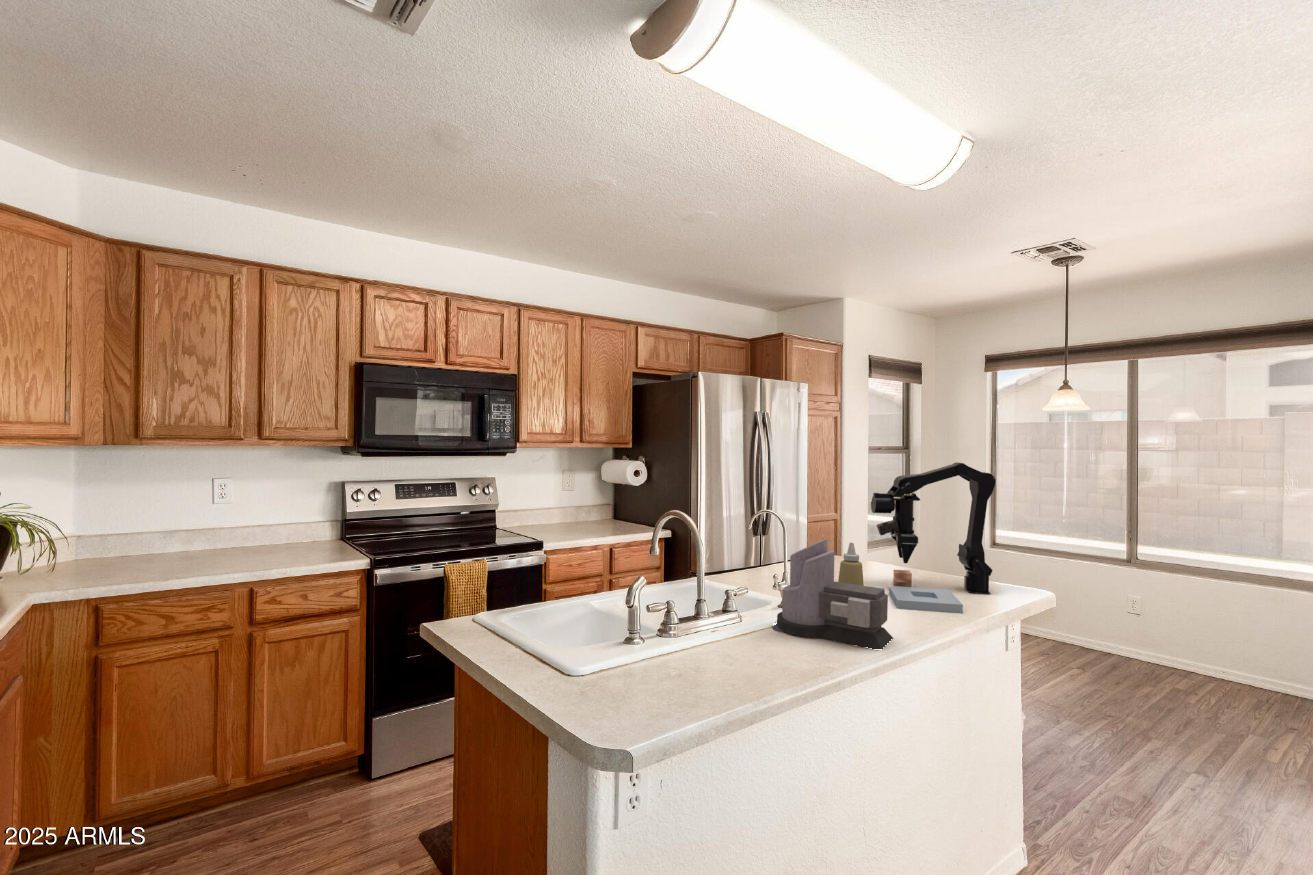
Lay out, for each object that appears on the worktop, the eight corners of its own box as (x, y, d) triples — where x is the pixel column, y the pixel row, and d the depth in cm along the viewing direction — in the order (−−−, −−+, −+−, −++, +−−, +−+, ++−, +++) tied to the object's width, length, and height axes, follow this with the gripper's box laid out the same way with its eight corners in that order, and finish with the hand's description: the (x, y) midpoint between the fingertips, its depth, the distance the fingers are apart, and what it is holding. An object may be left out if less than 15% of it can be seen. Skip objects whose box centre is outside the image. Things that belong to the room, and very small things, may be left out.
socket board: (948, 597, 204) (949, 589, 204) (962, 613, 186) (962, 604, 186) (889, 593, 208) (889, 585, 208) (897, 608, 190) (897, 600, 190)
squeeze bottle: (846, 596, 204) (847, 539, 203) (869, 601, 197) (870, 543, 197) (831, 600, 199) (832, 542, 198) (854, 605, 192) (855, 546, 192)
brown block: (908, 588, 215) (909, 570, 215) (911, 591, 211) (911, 573, 210) (893, 587, 217) (893, 569, 216) (895, 590, 212) (895, 572, 212)
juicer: (762, 630, 168) (763, 537, 168) (786, 615, 181) (787, 529, 181) (879, 653, 151) (881, 550, 151) (895, 636, 165) (897, 541, 164)
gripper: (875, 509, 224) (874, 553, 224) (882, 516, 206) (881, 564, 206) (909, 510, 222) (908, 555, 222) (918, 517, 203) (918, 566, 204)
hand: (903, 560), depth 213 cm, fingers open, 9 cm apart
